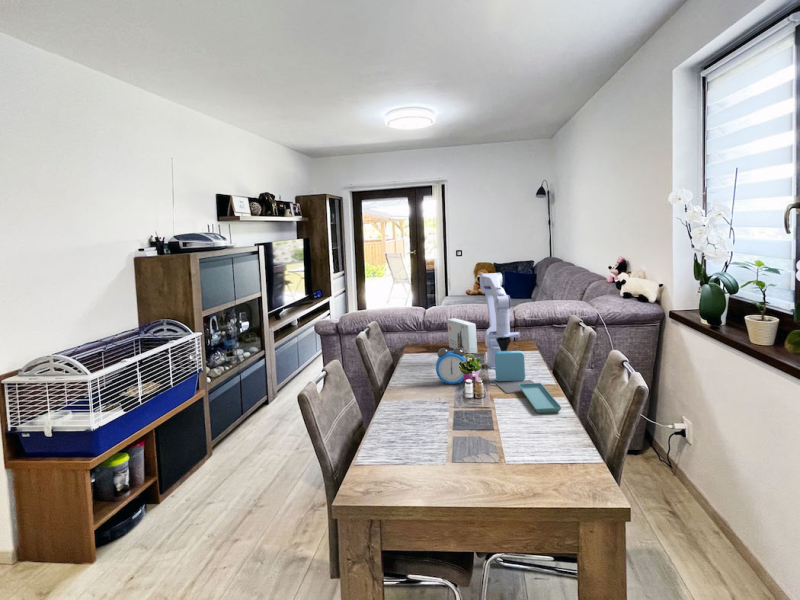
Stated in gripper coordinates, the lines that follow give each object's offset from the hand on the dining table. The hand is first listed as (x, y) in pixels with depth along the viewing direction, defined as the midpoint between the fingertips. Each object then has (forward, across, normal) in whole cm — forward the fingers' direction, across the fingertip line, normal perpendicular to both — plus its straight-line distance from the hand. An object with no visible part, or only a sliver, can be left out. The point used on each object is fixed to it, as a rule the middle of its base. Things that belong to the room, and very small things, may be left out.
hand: (503, 354), depth 225 cm
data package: (+9, 0, -8) cm, 12 cm away
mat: (+9, 0, -17) cm, 19 cm away
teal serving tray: (+10, 0, -35) cm, 37 cm away
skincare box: (+10, -5, +52) cm, 53 cm away
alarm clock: (+10, -24, -3) cm, 26 cm away
